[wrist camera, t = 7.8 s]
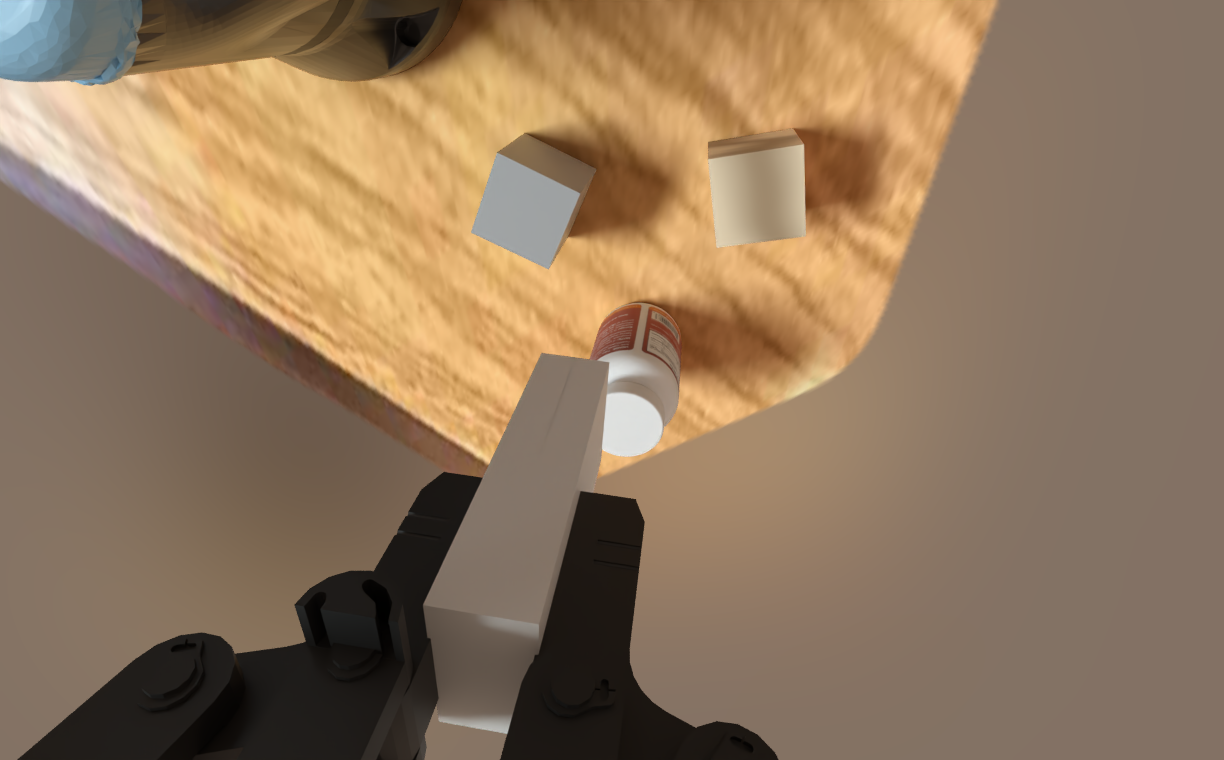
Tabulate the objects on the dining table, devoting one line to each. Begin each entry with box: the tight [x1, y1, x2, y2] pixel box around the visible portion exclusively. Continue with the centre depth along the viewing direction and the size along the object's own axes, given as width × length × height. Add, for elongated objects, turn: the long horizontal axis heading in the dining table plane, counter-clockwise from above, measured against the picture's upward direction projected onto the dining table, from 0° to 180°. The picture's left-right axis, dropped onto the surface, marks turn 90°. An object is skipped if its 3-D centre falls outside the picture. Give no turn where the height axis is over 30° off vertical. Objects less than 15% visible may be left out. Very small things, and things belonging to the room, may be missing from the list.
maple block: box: [708, 128, 806, 248], centre depth 36 cm, size 5×5×5 cm
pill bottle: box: [590, 303, 682, 457], centre depth 40 cm, size 6×6×11 cm
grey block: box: [471, 133, 597, 269], centre depth 37 cm, size 5×5×6 cm
